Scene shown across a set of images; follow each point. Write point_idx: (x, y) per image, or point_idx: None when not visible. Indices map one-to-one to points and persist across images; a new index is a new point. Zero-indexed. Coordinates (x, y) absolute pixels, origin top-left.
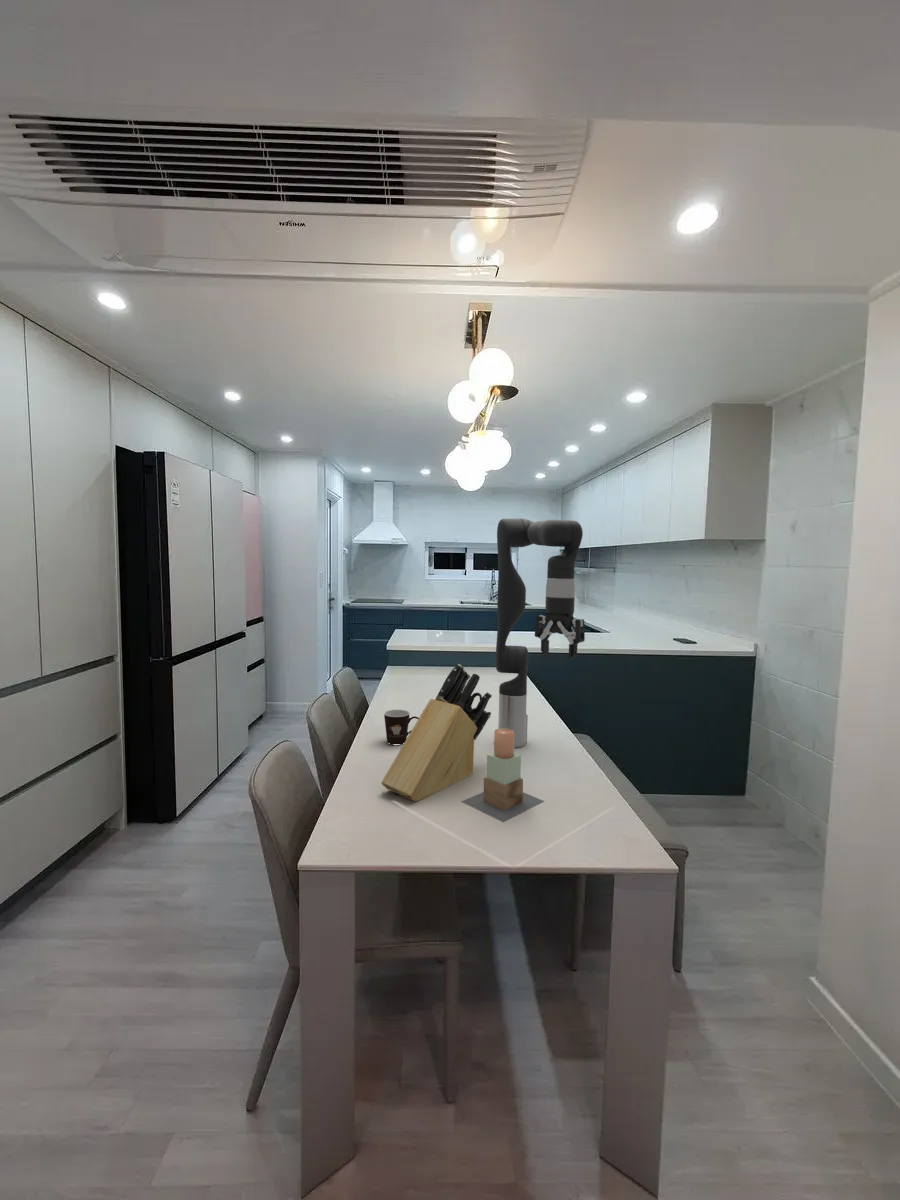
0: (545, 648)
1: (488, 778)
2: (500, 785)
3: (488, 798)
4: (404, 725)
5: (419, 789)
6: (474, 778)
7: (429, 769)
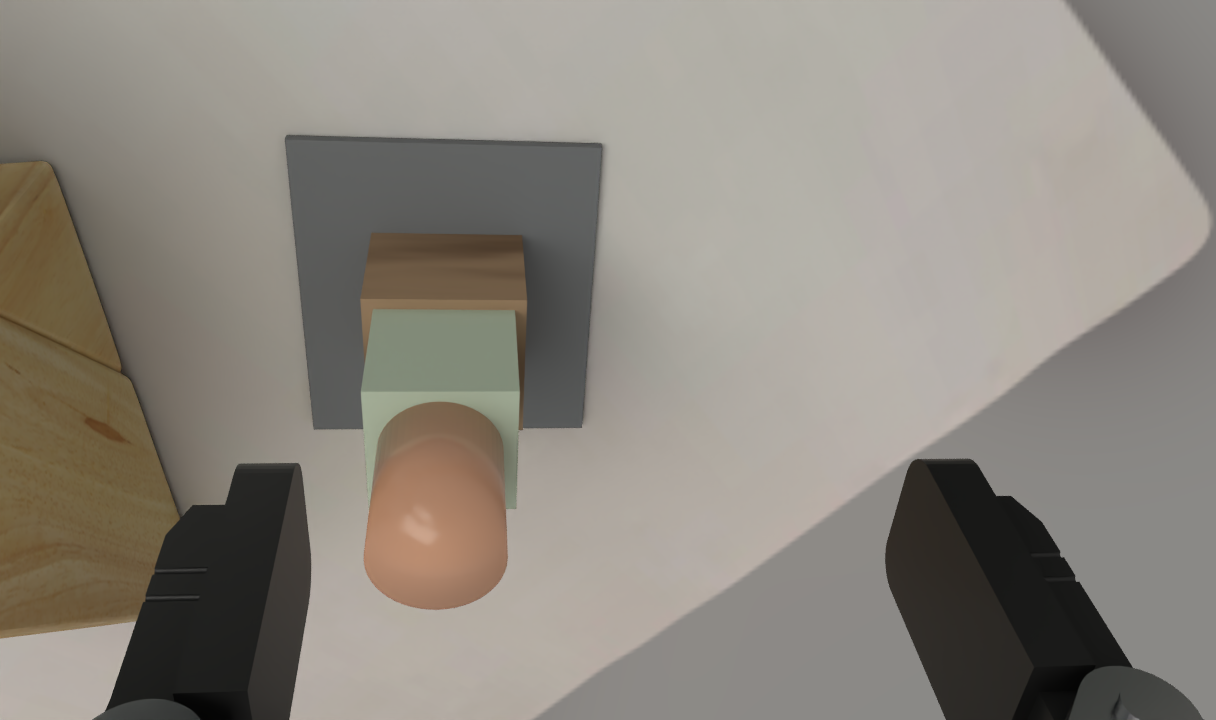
0: (293, 633)
1: None
2: None
3: None
4: None
5: None
6: (97, 178)
7: (138, 585)
